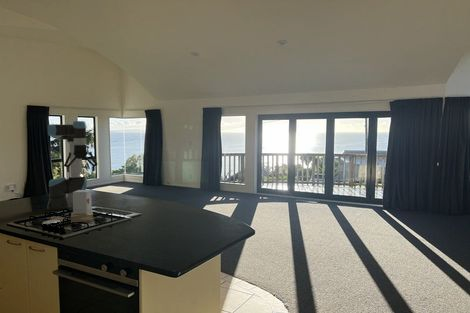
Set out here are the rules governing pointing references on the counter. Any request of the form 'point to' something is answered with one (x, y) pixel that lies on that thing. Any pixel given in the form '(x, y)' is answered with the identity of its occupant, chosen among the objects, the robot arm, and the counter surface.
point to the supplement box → (82, 202)
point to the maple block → (82, 217)
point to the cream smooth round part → (51, 221)
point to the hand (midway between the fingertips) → (81, 176)
